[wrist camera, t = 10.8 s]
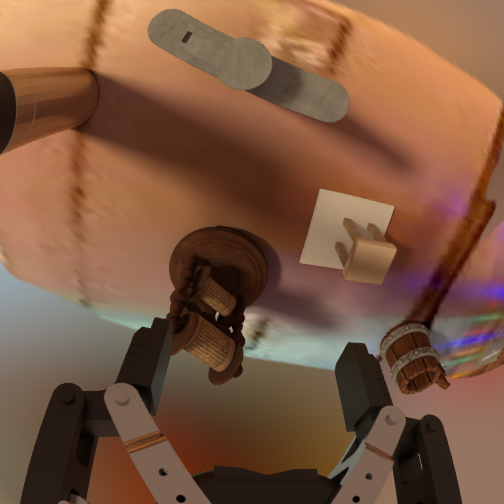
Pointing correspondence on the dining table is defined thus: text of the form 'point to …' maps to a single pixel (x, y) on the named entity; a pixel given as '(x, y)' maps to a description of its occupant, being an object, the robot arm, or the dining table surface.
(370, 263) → the stool
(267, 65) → the hip flask
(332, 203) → the mat
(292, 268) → the dining table surface
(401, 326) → the mug
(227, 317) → the scroll
